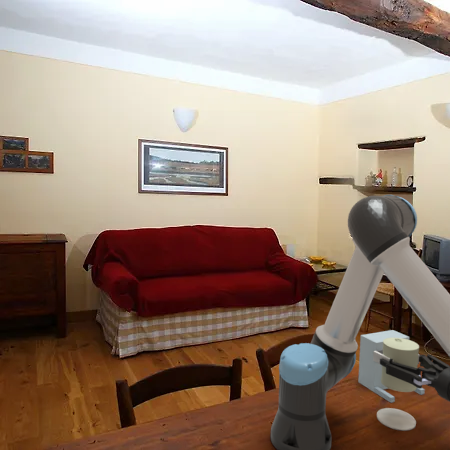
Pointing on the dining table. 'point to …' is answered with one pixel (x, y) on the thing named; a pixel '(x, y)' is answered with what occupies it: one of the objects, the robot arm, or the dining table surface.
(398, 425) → the coaster
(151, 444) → the dining table surface
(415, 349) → the can
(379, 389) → the pale blue footed box
